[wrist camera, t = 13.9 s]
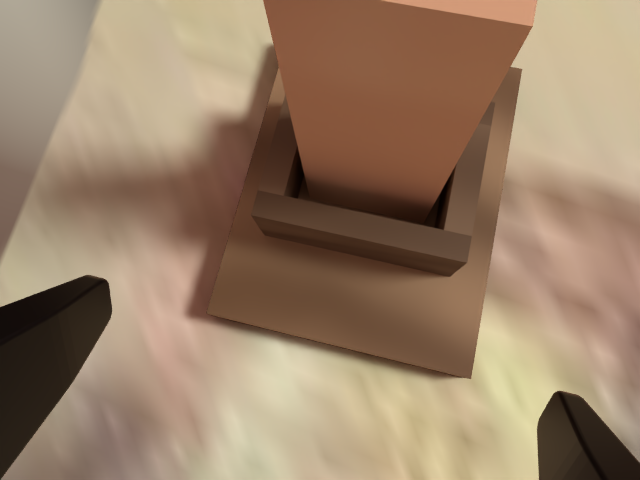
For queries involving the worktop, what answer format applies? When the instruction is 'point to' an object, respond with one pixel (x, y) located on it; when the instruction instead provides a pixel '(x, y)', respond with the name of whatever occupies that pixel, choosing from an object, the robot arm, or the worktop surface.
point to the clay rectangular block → (390, 91)
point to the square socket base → (367, 252)
